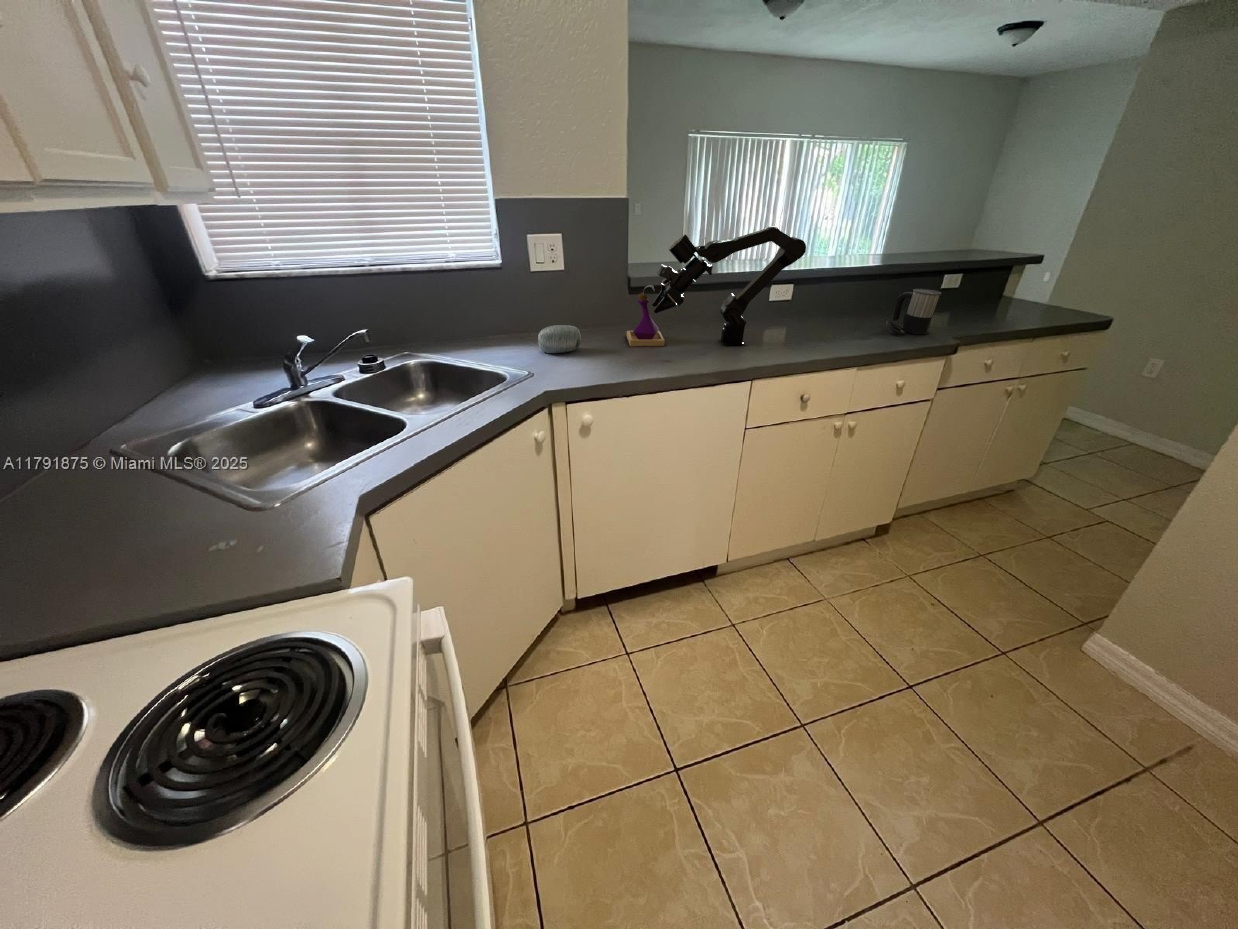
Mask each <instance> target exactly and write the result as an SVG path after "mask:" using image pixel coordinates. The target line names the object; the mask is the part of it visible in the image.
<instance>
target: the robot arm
mask: <svg viewBox="0 0 1238 929" xmlns="http://www.w3.org/2000/svg"><path fill="white" fill-rule="evenodd" d="M770 242H772V243H773V244H774V245H776V246H778V247H779V248H778V250H777V251H776V253H775V255H774V257H773V258H772V260H771V261H770V262H768V264H767V265H765V267H764V268H763V269H762V270H761V271H760V272H759V273H758V274H757V275H756V276H755V277H754V278H753V279H752V280H751V281H750V282H749V283H748V284H747V285H746V286H745V287H744V288H743V289H742V290H741V291H740V292H739V293H737V294H735V295H734V293H733V292H731V293H730V294H729V295H728V297H727V298H726V299H724V300H722V304H721V306H720V315H721V317H722V318H723V320H725V323H724V325H723V327H722V329H721V336H720V341H721V342H722V344H723V345H725V346H744V345H745V343H744V342H743V341H744V335H745V327H746V325H747V321H746V320H745V318H744V317H743V316H742V315H743V314H744V312H745V311H746V309H747V308H748V305H749V304H750V302H751V301H752V300H753V299H754V298H755V297H756V296H757V295H758V294H759V293H761V292H762V291H763V289H764V288H765V287H767V285H768V284H769V283H770V282H772V281H773V279H775V278H776V277H777V276H778V274H779V273H781V271H782V270H784V269H785V268H787V267H789V266H791V265H793V264H794V263H795V262H797V261H798V260H800V259H801V258H802V257H804V255H805V254H806V251H807V245H806V242H805V241H804V240H803V239H801V238H798V237H796V236H790V235H788V234H787V233H786V232H783V231H782V230H780V229H779V228H778V227H776V226H773V225H771V226H768V227H766V228H763V229H759V230H757V231H754V232H751V233H747V234H744V235H741V236H737V237H733V238H729V239H718V240H710V241H708V242H706V243H705V244H703V245H697V246H695V245H694V243H693V242H692V241H691V240H690V238H689V236H688V235H687V234H686V233H685V234H683V235H682V236H681V237H680V238H679V239H677V240H676V241H674V242H673V243H672V244H671V245H670V247H669V248H668V251H669V252H670V253H671V255H672V256H673V257H674V259H676V261H677V262H678V263H679V264H686V265H685V266H684V267H683V268H682V269H681V268H678V269H677V270H675V269H673V268H674V267H671V266H670V265H666V264H663V263H660V265H659V267H658V269H657V272H656V274H657V276H658V277H660V278H663V279H662V280H661V284H660V286H661V287H660V291H659V293H658V294H657V295H656V298H655V299H654V300H653V302H652V304H651V305H652V307H653V308H654V310H653V313H654V314H659V313H661V312H664V311H667V310H670V309H671V308H676V307H680V306H681V305H682V304H684V300H685V298H684V296H683V295H685V292H686V291H687V290H688V289H689V288H690V287H691V288H692V287H693V286H694V283H695V282H697V281H698V279H699V278H701V276H703V275H704V274H705V273H707V274H708V275H709V276H712V275H713V267H714V266H713V264H716V263H719V262H721V261H722V260H725V259H726V258H728V257H729V256H731V255H733V254H734V253H738V252H741V251H744V250H747V249H750V248H754V247H757V246H760V245H763V244H767V243H770ZM696 254H697V255H698V256H699V257H700V258H701V259H699V258H698V256H697V255H696ZM705 259H706V260H705ZM708 262H709V263H710V264H708Z"/></svg>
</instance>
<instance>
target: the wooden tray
mask: <svg viewBox="0 0 1238 929" xmlns="http://www.w3.org/2000/svg"><path fill="white" fill-rule="evenodd" d="M633 331H634V330H626V338H627V341H628V344H629V347H665V342H666V341H665V338H664V337H663V335H662V333H661V331H660V330H658V331H657V333H656V334H655V336H654V337H653V339H652V340H638V339H637V337H636V336H635V334H634V333H633Z"/></svg>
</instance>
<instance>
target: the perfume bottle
mask: <svg viewBox="0 0 1238 929" xmlns="http://www.w3.org/2000/svg"><path fill="white" fill-rule="evenodd" d="M646 288H651V289H652V290H653V292H655V287H654V285H653V284H649V285H646V286H645V287H644V289H643V291H642V292H640V293H639V294H638V299H637V300H636V302H637V303H638V304H639V305H640V307H641V312H642V317H641V319H640V321H639V323H638V325H636V327H635V328H634V330H632V331H633V333H634V334H635V336H636V337H637V339H638V340H652V339H653V337H654V336H655V334H656V333H657V331H659V329H660V328H659V327H658V325H657V324H656V323H655V321H654V320H653V319H652V318H653V317H652V316H651V314H650V311H649V308H648V303H650V300H649V299H648V295H647V293H645V290H646Z"/></svg>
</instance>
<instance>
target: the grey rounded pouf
mask: <svg viewBox="0 0 1238 929" xmlns="http://www.w3.org/2000/svg"><path fill="white" fill-rule="evenodd" d="M581 336H582V335H581V331H580V329H579V328H578V327H577V326H574V325H569V324H568V325H566V324H557V325H549V326H545V327H544V328H542V329H541V330H540V331H539V332H538V336H537V343H538V347H539V349H540V350H541V351H542V352H543V353H546V354H547V353H548V354H560V353H569V352H575V351H577V350H578V349H579V347H580V345H581V342H582V337H581Z"/></svg>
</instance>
